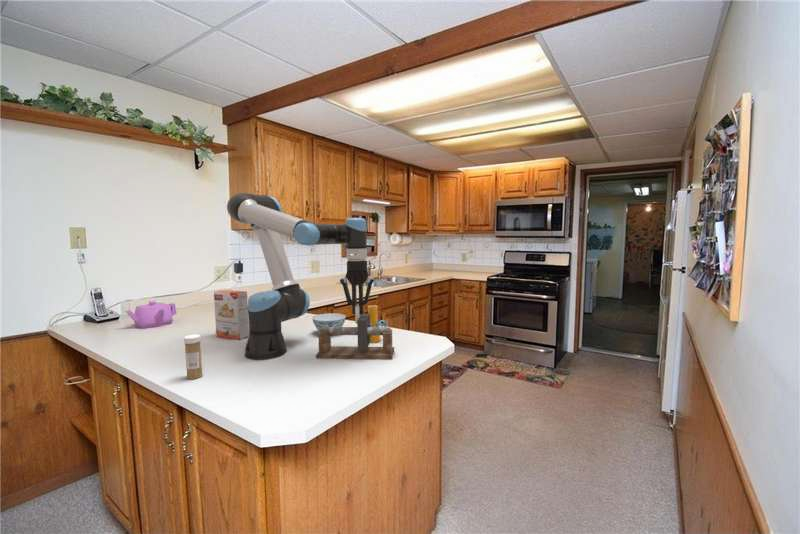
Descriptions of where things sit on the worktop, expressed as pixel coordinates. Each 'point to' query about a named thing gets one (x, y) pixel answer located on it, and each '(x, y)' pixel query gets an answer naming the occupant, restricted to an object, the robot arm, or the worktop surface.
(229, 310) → the cracker box
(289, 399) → the worktop surface
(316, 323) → the chinaware
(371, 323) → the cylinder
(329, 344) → the pipe stand
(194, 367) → the sprinkles bottle
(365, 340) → the collar
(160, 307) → the teakettle
